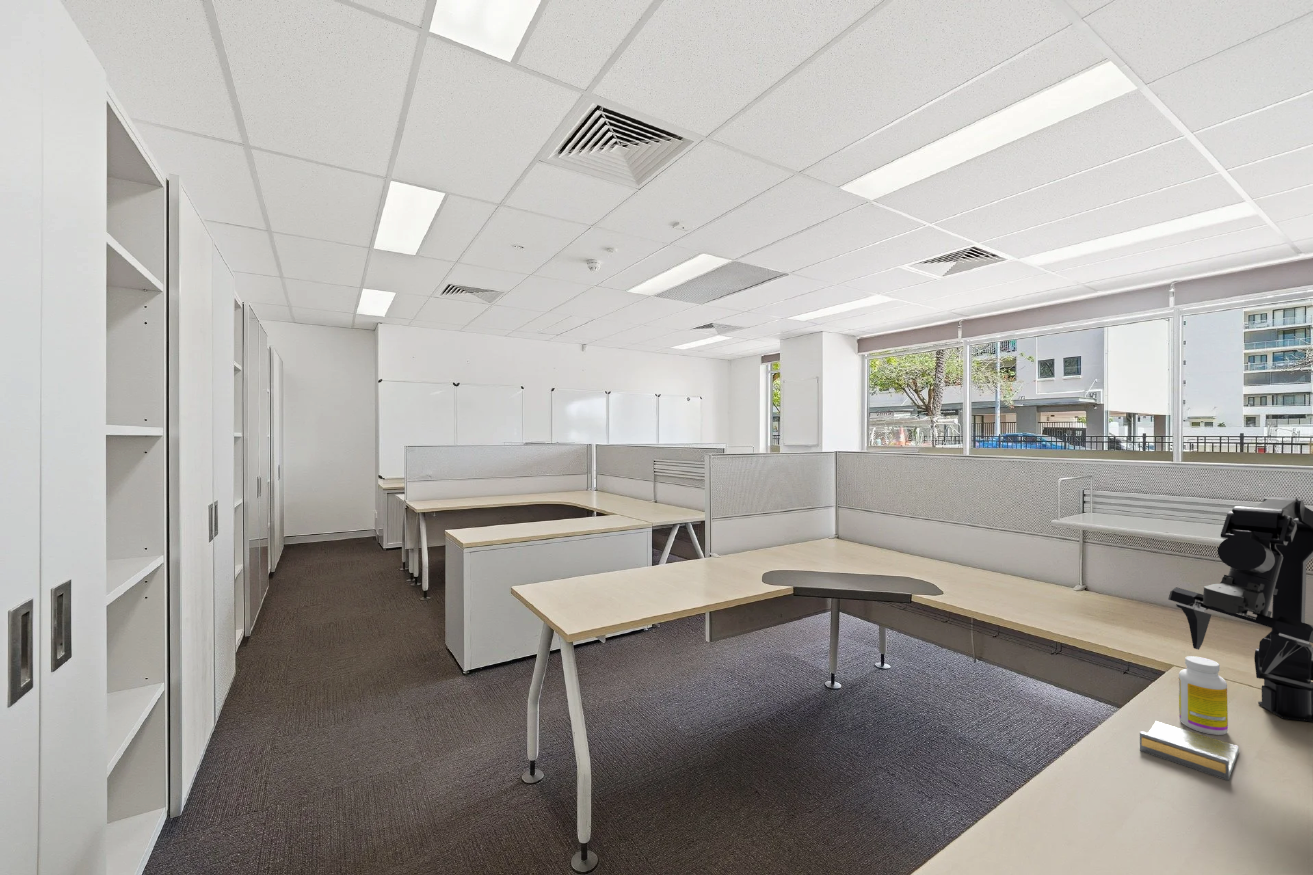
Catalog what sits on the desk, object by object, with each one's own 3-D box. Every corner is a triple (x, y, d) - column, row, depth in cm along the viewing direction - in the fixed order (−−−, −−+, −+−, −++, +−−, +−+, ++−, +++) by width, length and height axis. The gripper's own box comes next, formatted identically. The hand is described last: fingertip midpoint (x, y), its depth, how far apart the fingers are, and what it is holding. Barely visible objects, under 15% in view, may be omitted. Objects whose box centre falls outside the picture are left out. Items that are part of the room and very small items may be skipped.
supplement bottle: (1238, 738, 101) (1237, 669, 101) (1196, 734, 102) (1195, 666, 102) (1209, 719, 108) (1208, 655, 108) (1170, 716, 109) (1169, 652, 109)
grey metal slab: (1156, 726, 105) (1155, 709, 105) (1238, 751, 97) (1238, 733, 97) (1139, 751, 97) (1139, 733, 97) (1228, 781, 89) (1227, 761, 89)
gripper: (1162, 552, 103) (1140, 631, 103) (1304, 586, 85) (1278, 681, 85) (1196, 563, 107) (1174, 640, 106) (1339, 598, 89) (1313, 690, 89)
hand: (1228, 660), depth 97 cm, fingers open, 9 cm apart
